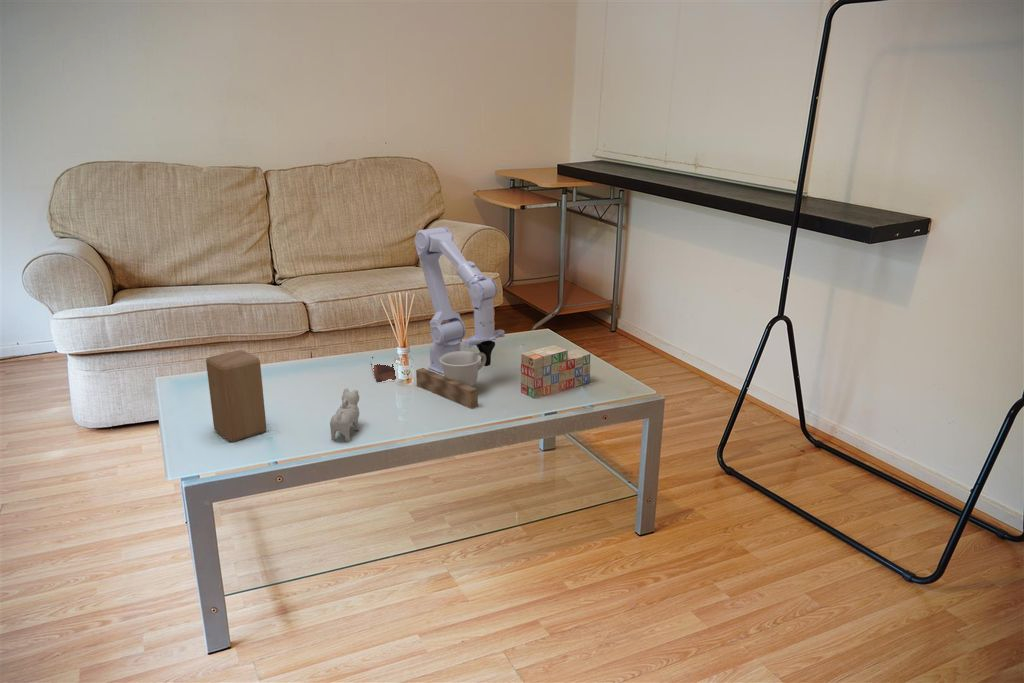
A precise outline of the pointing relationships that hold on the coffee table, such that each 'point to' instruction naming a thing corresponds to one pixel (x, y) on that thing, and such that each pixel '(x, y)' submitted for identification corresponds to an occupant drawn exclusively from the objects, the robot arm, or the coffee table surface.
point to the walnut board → (447, 388)
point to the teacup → (462, 366)
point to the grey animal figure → (346, 415)
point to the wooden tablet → (384, 372)
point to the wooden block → (236, 394)
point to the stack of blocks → (553, 370)
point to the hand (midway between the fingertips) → (485, 365)
